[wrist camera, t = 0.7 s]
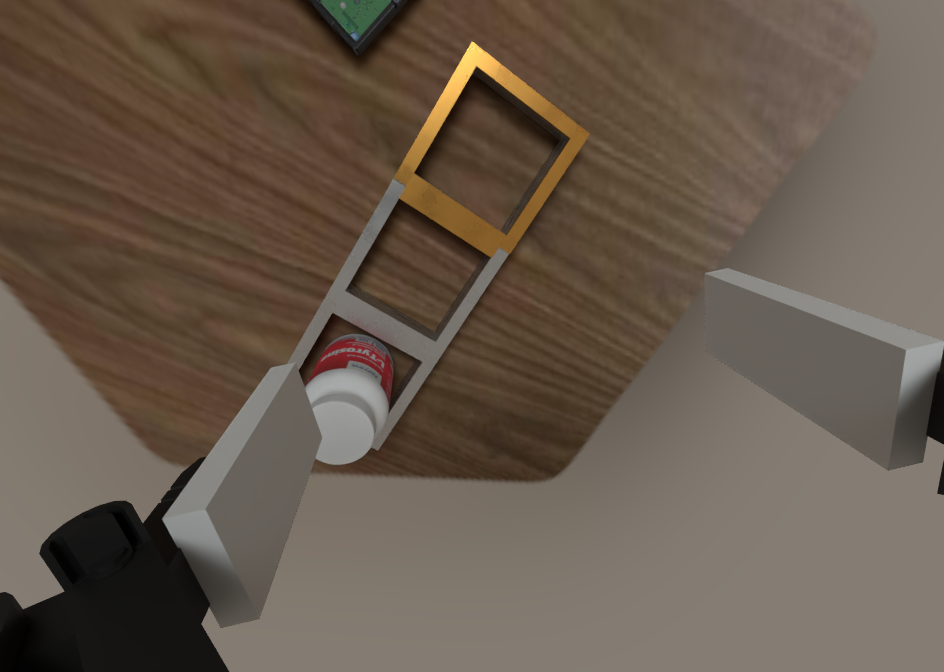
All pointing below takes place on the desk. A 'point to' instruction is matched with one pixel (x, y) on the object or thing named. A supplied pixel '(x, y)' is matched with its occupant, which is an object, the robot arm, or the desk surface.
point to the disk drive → (357, 19)
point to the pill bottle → (350, 396)
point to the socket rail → (453, 218)
